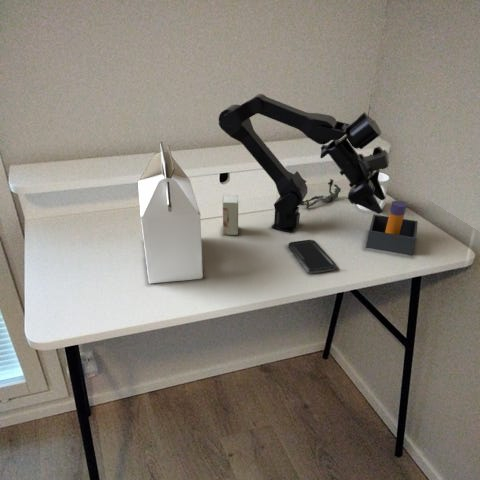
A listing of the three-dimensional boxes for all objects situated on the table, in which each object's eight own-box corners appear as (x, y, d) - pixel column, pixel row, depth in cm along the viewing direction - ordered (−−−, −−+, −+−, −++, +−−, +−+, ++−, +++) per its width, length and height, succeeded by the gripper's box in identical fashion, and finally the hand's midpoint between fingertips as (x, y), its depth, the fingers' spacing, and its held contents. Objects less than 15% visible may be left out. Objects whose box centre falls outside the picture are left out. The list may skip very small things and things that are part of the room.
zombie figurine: (300, 183, 147) (337, 176, 154) (298, 204, 151) (334, 196, 158) (311, 189, 144) (348, 181, 150) (308, 210, 148) (345, 201, 154)
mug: (392, 217, 145) (400, 185, 138) (368, 219, 143) (374, 187, 137) (375, 201, 154) (382, 170, 148) (352, 203, 152) (357, 172, 146)
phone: (313, 239, 130) (337, 266, 119) (312, 242, 131) (336, 269, 119) (286, 242, 128) (308, 270, 117) (286, 246, 129) (308, 274, 117)
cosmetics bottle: (223, 226, 137) (223, 194, 131) (238, 227, 137) (238, 194, 131) (222, 235, 133) (222, 201, 127) (237, 235, 133) (238, 202, 127)
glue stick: (381, 243, 130) (390, 204, 123) (384, 237, 133) (393, 199, 126) (395, 246, 129) (405, 207, 121) (398, 240, 131) (408, 202, 124)
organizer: (365, 249, 128) (369, 231, 125) (369, 231, 137) (373, 214, 133) (411, 257, 125) (416, 238, 122) (412, 238, 134) (417, 220, 130)
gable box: (203, 279, 115) (198, 167, 98) (148, 284, 113) (134, 170, 95) (192, 237, 132) (187, 135, 115) (145, 241, 130) (132, 138, 113)
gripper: (369, 151, 109) (407, 202, 113) (377, 129, 123) (410, 175, 127) (331, 179, 116) (368, 226, 120) (343, 156, 130) (376, 199, 134)
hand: (382, 205), depth 125 cm, fingers open, 9 cm apart
